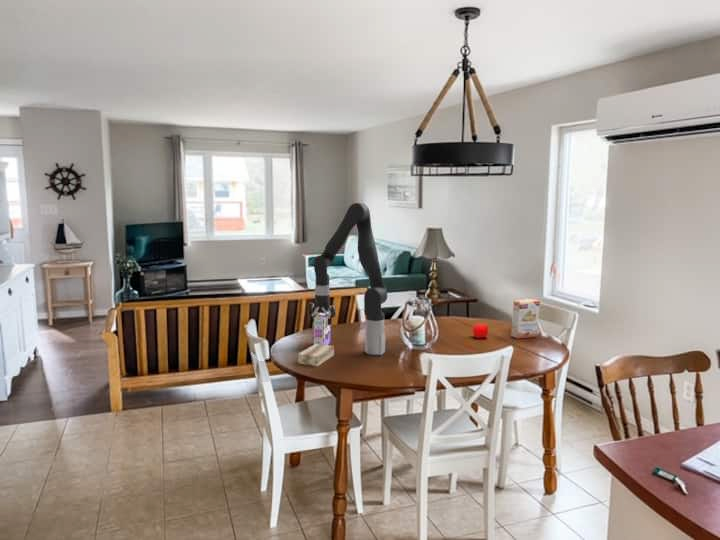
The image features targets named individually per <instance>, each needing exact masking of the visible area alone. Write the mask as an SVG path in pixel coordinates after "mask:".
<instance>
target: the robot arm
mask: <svg viewBox="0 0 720 540" xmlns="http://www.w3.org/2000/svg"><path fill="white" fill-rule="evenodd" d="M371 219H372V218H371V212H370V209H369V206H367V204H365V203H362V202H354V203H352V204H351V205H349V207H348V208H347V211H346V212H345V215H344V217H343V219H342V221H341V223H340V225H339V226H338V228H337V229H336V231H335V232H334V233H333V235H332V236H331V238H330V239H329V240H328V241H327V243H326V245H325V247H324V251H323V252H322V253H321V254H320V255H317V256H316V257H315V258H314V261H313V270H314V275H315V284H314V285H315V287H314V303H313V302H311V303H309V304H308V315H309V316H311V322H312V323H313V318H314V317H315V316H317V315H318V314H319V313H325V314H326V315H327V316H328V325H330V326H331V325H332V324H333V318H335V317H336V305H335V304H334V305H331V304H330V291H331V288H330V275H329V273H328V267H330V266H331V264H332V263H333V261H334V260H335V259H336V255H337V254H338V253H339V252H340V251H341V249H342V248H343V246H344V244H345V243H346V241H347V239H348V236H349V234H350V233H351V231H352V230H353V228H354V227H356V229H357V254H358V258H359V263H360V265H361V267H362V269H363V270H364V272H365V273H366V275H367V277H368V280H369V285H370V287H369V288H368V289H366V291H364V297H363V307H364V309H363V310H364V315H365V341H364V342H365V344H364V345H365V347H364V348H365V350H364V351H365V354H367V355H369V356H370V355H371V356H378V355H379V356H382V355H383V354H384V353H385V352H386V333H385V312H382V304H384V303H386V302H387V300H388V292H387V291H388V290H387V288H386V285H385V281H384V279H383V276H382V270H381V265H380V261H379V256H378V255H379V254H378V249H377V246H376V242H375V237H374V233H373V230H372V222H371V221H372V220H371ZM314 308H315V310H314Z"/></svg>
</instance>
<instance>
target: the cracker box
mask: <svg viewBox="0 0 720 540" xmlns="http://www.w3.org/2000/svg"><path fill="white" fill-rule="evenodd" d="M540 304H541V302H540V301H539V300H537V299H532V298H531V299H519V300H513V304H512V317H511V318H512V319H511V333H510V334H511V335H510V336H511V337H512V338H515V339H516V340H518V339H526V338H528V339H529V338H537V337H538V329H539V317H540V315H539V314H540Z"/></svg>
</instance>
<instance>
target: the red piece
mask: <svg viewBox="0 0 720 540" xmlns="http://www.w3.org/2000/svg"><path fill="white" fill-rule="evenodd" d="M488 331H489V327H488V324H482V323H481V324H480V323H479V324H476V325H474V326H473V328H472V333H473V336H474V338H477V339H482V338H484V339H488V337H487V336H488Z"/></svg>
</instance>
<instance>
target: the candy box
mask: <svg viewBox="0 0 720 540" xmlns="http://www.w3.org/2000/svg"><path fill="white" fill-rule="evenodd" d="M312 325H313V326H312V329H313V330H312V345H314V344H322V345H330V343H331V325H328V316H327V315H326V314H325V313H317V314H316V315H315V317H314V318H313V322H312Z"/></svg>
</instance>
